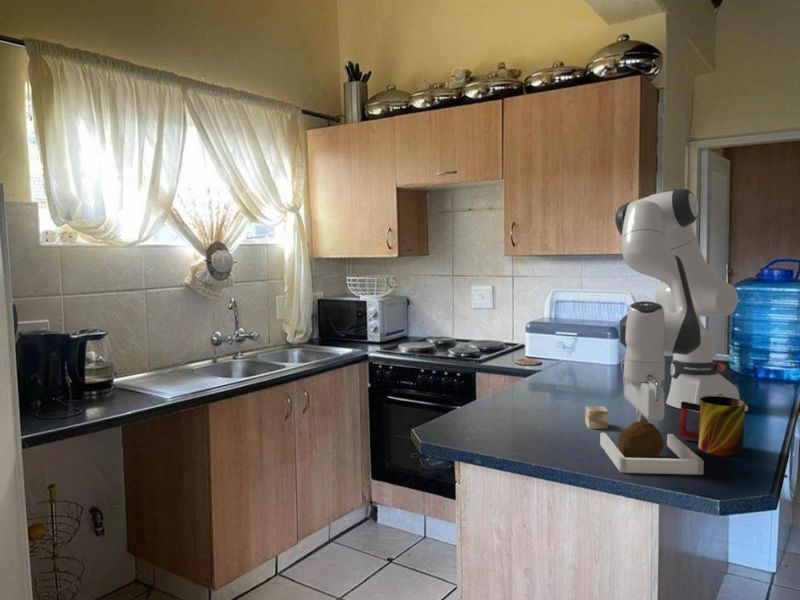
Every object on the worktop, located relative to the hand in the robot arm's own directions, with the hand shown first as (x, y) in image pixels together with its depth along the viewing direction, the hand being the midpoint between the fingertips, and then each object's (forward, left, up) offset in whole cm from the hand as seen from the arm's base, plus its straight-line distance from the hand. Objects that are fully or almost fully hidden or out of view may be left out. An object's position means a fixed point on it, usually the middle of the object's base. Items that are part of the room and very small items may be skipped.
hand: (642, 427), depth 146 cm
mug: (-18, -4, -6) cm, 19 cm away
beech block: (+6, -22, -6) cm, 23 cm away
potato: (+2, +4, -6) cm, 8 cm away
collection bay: (0, +3, -6) cm, 7 cm away
